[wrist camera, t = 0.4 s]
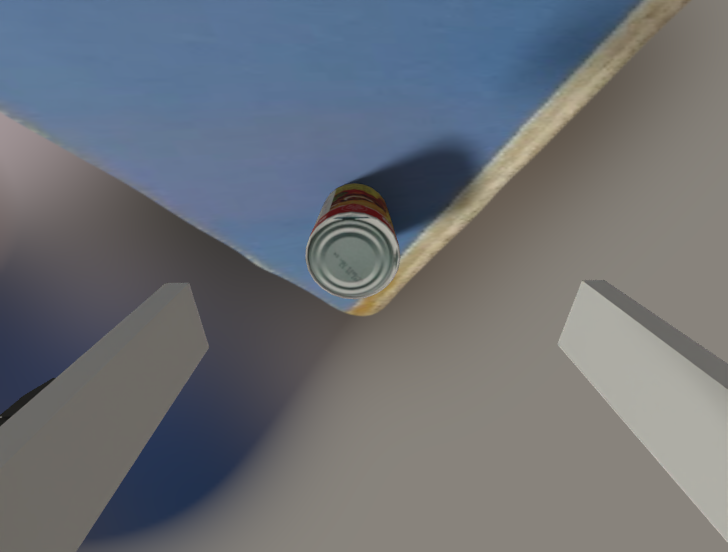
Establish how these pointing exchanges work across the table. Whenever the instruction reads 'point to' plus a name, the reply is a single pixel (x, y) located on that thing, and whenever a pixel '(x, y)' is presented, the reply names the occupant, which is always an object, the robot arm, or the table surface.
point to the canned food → (353, 244)
